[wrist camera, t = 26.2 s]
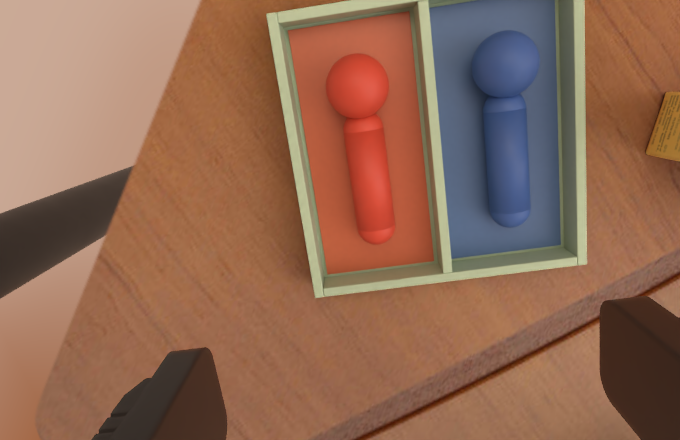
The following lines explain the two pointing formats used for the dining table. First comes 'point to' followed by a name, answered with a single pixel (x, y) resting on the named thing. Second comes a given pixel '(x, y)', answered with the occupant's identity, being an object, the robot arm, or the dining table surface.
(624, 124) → the dining table surface
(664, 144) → the candy box
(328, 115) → the sorting tray
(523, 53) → the blue massage wand
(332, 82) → the red ball-tipped rod
